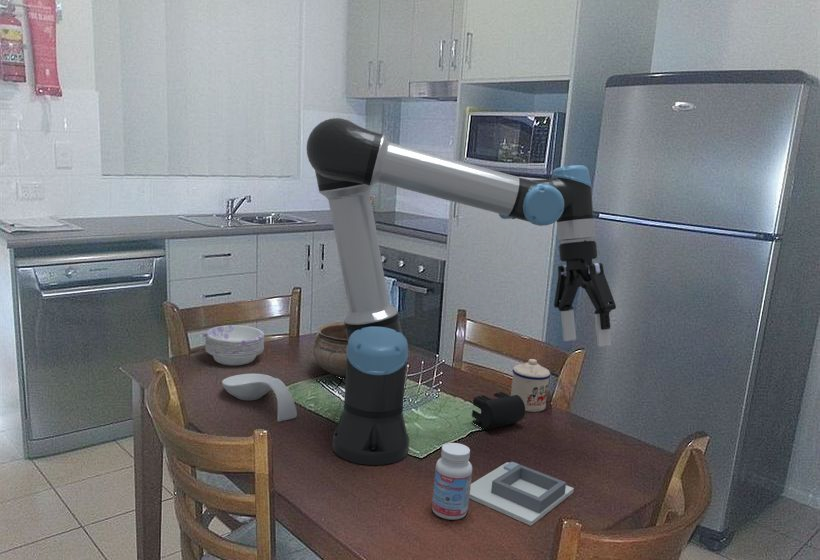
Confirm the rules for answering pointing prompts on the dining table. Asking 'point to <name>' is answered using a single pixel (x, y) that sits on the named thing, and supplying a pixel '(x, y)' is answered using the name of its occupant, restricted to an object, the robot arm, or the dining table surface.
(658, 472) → the dining table surface
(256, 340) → the paper bowls
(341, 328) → the cooking pot
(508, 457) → the dining table surface
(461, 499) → the pill bottle
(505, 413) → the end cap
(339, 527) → the dining table surface
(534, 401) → the teacup with lid
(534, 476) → the panel
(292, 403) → the spoon rest
